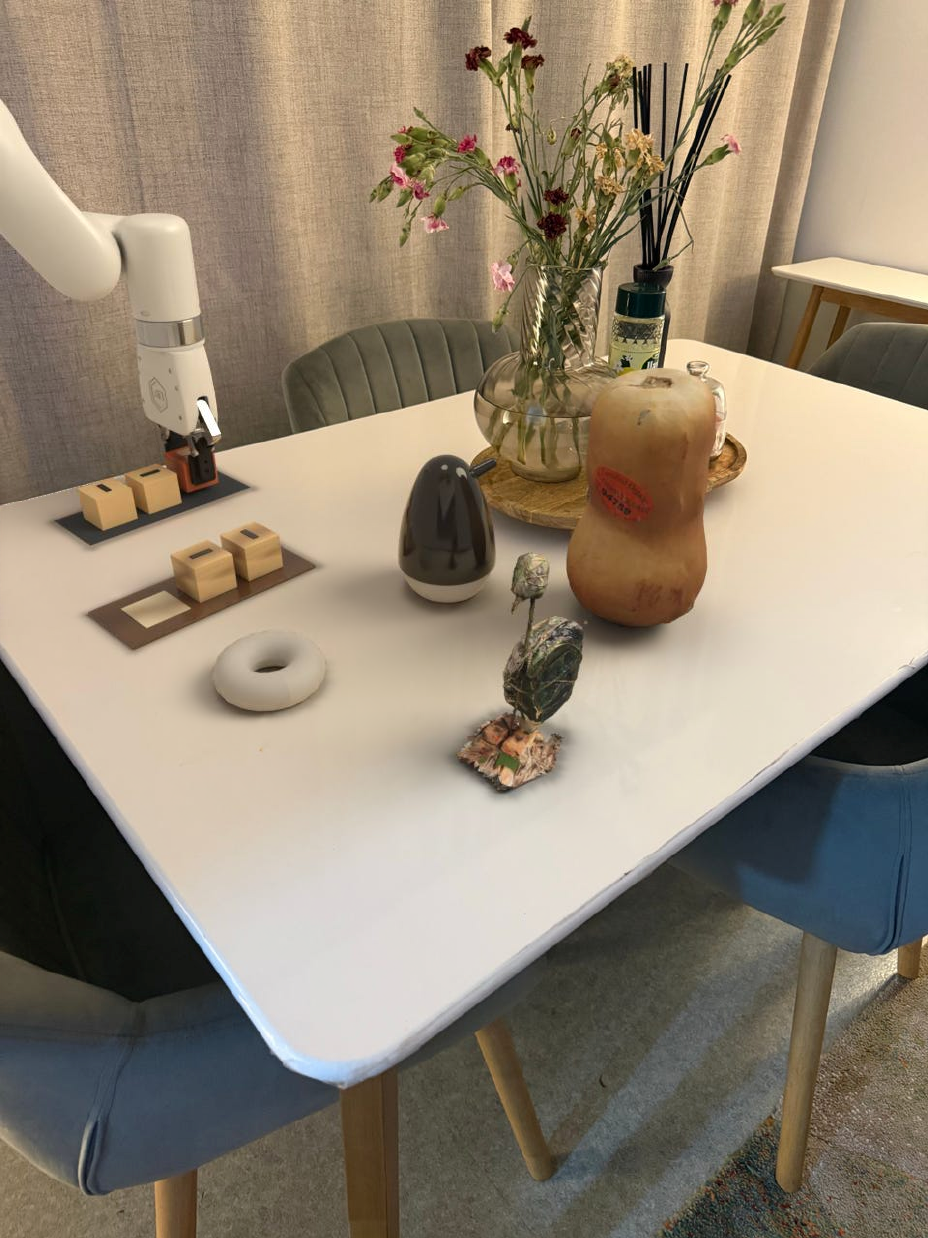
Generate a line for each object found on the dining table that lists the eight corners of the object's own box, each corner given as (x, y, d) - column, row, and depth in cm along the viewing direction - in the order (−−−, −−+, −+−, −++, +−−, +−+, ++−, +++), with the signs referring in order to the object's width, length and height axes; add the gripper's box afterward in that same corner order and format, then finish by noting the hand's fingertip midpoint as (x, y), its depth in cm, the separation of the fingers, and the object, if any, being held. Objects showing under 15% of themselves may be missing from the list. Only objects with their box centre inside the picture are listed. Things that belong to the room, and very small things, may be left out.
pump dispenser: (511, 605, 92) (517, 469, 84) (415, 623, 89) (412, 484, 81) (476, 559, 100) (478, 431, 92) (388, 575, 97) (381, 444, 89)
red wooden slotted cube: (168, 482, 113) (163, 452, 111) (199, 472, 116) (194, 442, 114) (187, 492, 111) (182, 462, 109) (218, 482, 114) (214, 452, 111)
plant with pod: (605, 749, 73) (632, 534, 62) (495, 805, 68) (504, 580, 57) (543, 699, 79) (558, 494, 68) (437, 747, 73) (434, 532, 63)
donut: (279, 641, 86) (192, 687, 80) (276, 611, 85) (186, 655, 78) (349, 682, 81) (262, 735, 75) (348, 651, 79) (258, 702, 73)
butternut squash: (536, 622, 89) (551, 377, 76) (602, 570, 98) (627, 343, 85) (660, 672, 82) (702, 413, 69) (720, 611, 91) (767, 371, 78)
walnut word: (89, 616, 90) (78, 576, 87) (267, 542, 103) (262, 506, 101) (135, 652, 85) (125, 610, 82) (316, 569, 98) (312, 531, 95)
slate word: (55, 524, 106) (45, 488, 104) (212, 471, 120) (207, 438, 117) (91, 549, 101) (82, 512, 99) (251, 491, 115) (247, 457, 112)
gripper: (103, 322, 106) (131, 465, 115) (181, 352, 96) (204, 505, 106) (160, 311, 110) (182, 450, 120) (239, 339, 101) (256, 487, 110)
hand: (192, 474), depth 113 cm, fingers closed on red wooden slotted cube, 4 cm apart
